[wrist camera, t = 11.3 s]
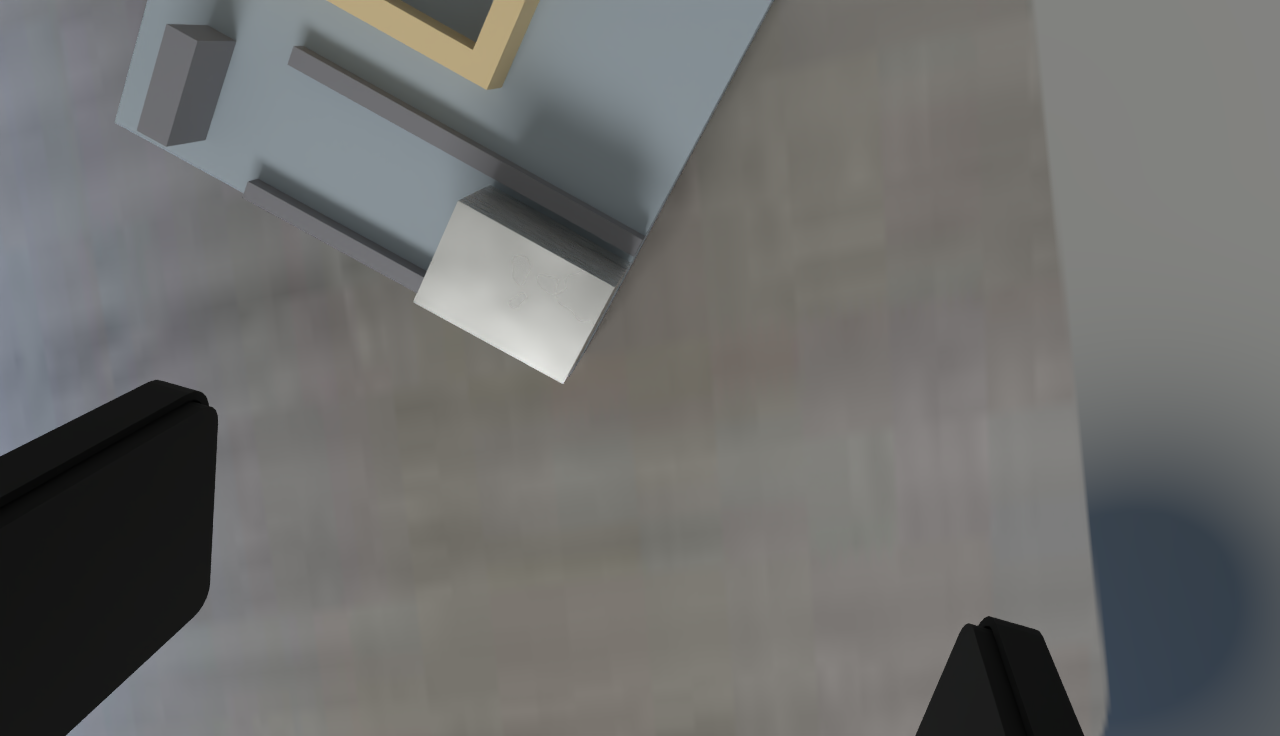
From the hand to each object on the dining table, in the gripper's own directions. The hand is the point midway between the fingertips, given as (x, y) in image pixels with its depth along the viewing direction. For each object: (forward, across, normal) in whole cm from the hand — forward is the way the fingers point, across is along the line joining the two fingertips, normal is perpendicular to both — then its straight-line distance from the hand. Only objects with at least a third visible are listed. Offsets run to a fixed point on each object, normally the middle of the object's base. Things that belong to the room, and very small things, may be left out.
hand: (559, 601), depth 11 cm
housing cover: (+18, +5, +1) cm, 19 cm away
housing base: (+20, +10, -6) cm, 23 cm away
